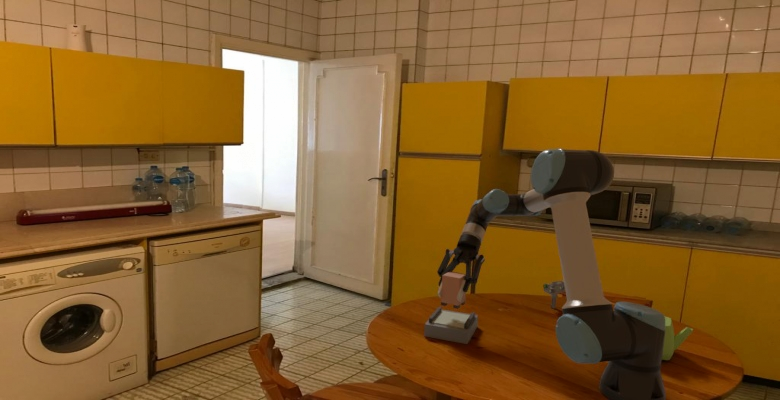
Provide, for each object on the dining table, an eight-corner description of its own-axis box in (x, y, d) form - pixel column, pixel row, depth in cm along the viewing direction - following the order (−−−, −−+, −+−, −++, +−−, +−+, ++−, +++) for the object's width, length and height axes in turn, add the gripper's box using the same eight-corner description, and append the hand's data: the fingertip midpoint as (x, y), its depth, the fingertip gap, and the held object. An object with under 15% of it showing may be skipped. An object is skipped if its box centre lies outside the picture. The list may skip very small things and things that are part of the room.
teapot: (689, 350, 158) (693, 310, 157) (688, 375, 141) (694, 330, 140) (624, 336, 168) (628, 298, 166) (617, 358, 151) (621, 316, 149)
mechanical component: (540, 308, 193) (542, 282, 192) (560, 305, 197) (562, 280, 196) (545, 310, 190) (547, 284, 189) (566, 307, 195) (568, 282, 194)
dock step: (467, 344, 156) (468, 327, 156) (424, 336, 161) (424, 319, 160) (477, 326, 171) (478, 311, 170) (437, 320, 176) (438, 304, 175)
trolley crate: (448, 300, 169) (449, 271, 168) (465, 303, 166) (466, 274, 165) (440, 305, 164) (442, 275, 163) (457, 308, 161) (459, 278, 160)
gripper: (499, 249, 171) (479, 309, 159) (448, 241, 181) (425, 297, 169) (495, 236, 166) (474, 297, 154) (442, 229, 176) (419, 285, 164)
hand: (448, 297), depth 162 cm, fingers closed on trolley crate, 6 cm apart
